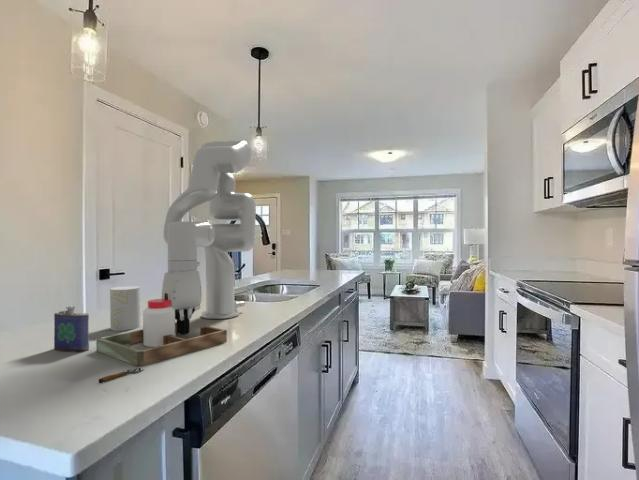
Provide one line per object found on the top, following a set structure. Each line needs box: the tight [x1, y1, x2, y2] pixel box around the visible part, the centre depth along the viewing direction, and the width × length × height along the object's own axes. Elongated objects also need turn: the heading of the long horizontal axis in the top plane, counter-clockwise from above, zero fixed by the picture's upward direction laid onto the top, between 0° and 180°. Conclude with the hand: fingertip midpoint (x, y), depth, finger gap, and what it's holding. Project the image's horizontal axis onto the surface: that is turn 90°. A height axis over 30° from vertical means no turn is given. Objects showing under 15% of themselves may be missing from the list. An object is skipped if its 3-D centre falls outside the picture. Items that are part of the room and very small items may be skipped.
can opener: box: [98, 366, 145, 384], centre depth 79 cm, size 9×2×1 cm, turn 142°
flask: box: [53, 306, 90, 353], centre depth 97 cm, size 9×3×11 cm, turn 78°
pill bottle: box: [142, 298, 176, 348], centre depth 103 cm, size 8×8×11 cm
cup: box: [109, 285, 141, 332], centre depth 120 cm, size 8×8×12 cm
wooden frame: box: [95, 321, 228, 367], centre depth 100 cm, size 24×19×3 cm
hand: (183, 333), depth 109 cm, fingers closed
